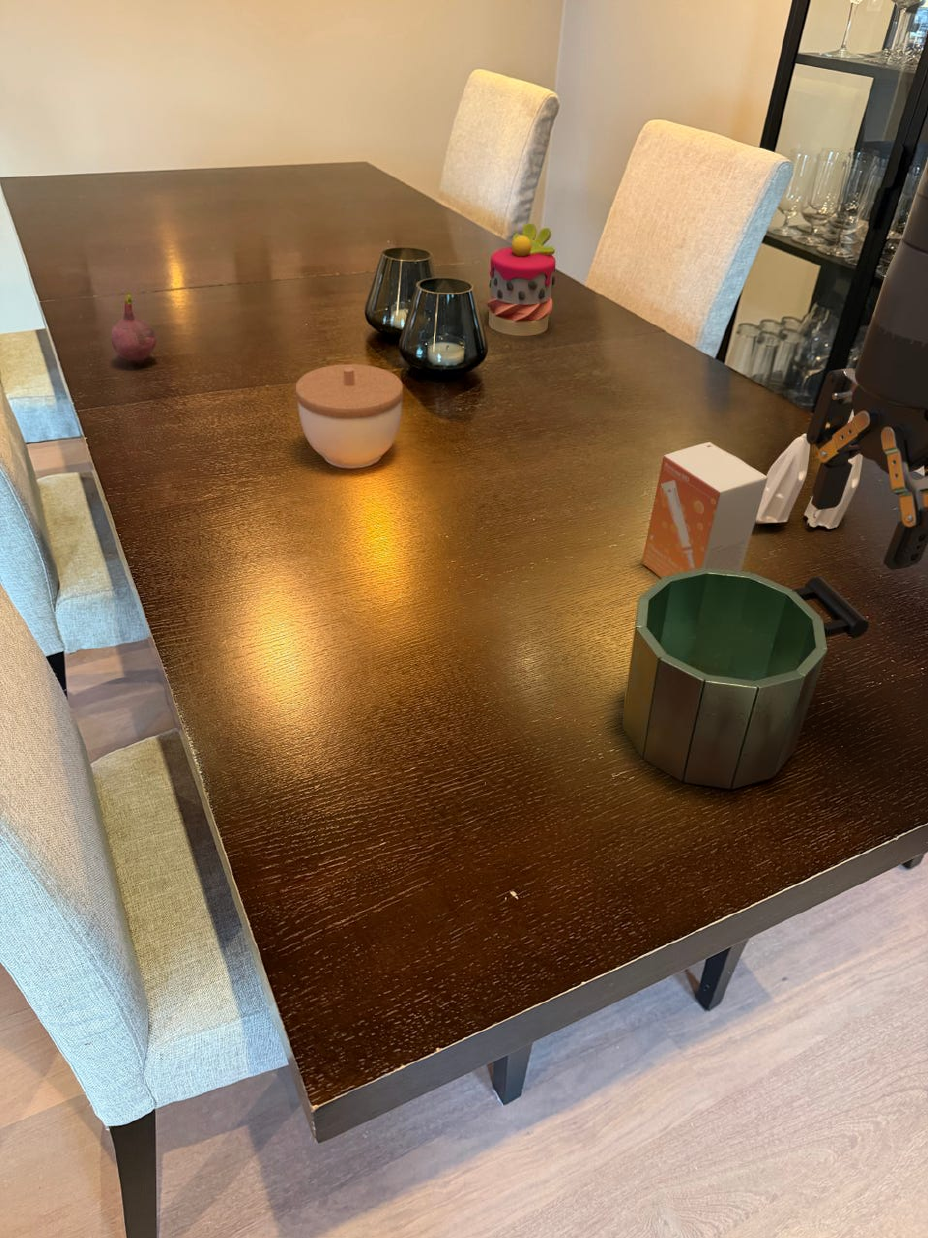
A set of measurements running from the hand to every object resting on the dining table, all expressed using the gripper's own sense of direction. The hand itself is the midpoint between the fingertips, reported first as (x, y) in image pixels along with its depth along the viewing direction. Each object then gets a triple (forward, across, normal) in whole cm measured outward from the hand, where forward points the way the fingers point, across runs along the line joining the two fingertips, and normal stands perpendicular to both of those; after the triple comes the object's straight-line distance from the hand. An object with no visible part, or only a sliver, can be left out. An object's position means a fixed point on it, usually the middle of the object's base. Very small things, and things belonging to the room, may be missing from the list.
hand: (858, 534), depth 67 cm
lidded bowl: (+17, +54, +27) cm, 63 cm away
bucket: (+12, 0, +16) cm, 20 cm away
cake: (+17, +91, -9) cm, 93 cm away
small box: (+18, +20, -1) cm, 27 cm away
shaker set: (+18, +26, -18) cm, 36 cm away
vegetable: (+17, +88, +51) cm, 104 cm away
